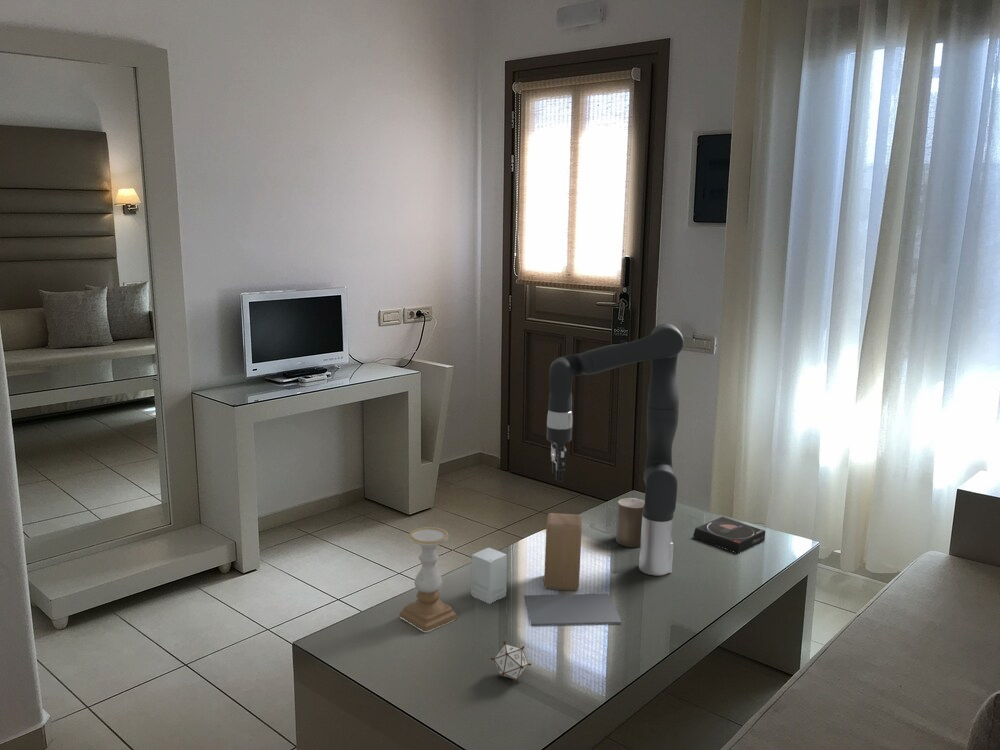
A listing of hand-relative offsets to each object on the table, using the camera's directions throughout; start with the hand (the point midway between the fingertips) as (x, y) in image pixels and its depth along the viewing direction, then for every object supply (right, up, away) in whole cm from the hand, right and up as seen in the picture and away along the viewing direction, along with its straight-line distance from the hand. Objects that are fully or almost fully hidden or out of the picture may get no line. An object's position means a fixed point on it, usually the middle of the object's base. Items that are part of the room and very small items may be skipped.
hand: (557, 477), depth 242 cm
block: (+1, -30, -8) cm, 31 cm away
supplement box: (-21, -31, -17) cm, 41 cm away
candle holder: (-36, -34, -30) cm, 58 cm away
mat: (+2, -33, -24) cm, 41 cm away
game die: (-15, -40, -56) cm, 70 cm away
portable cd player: (+60, -25, +27) cm, 70 cm away
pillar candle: (+26, -24, +23) cm, 42 cm away
